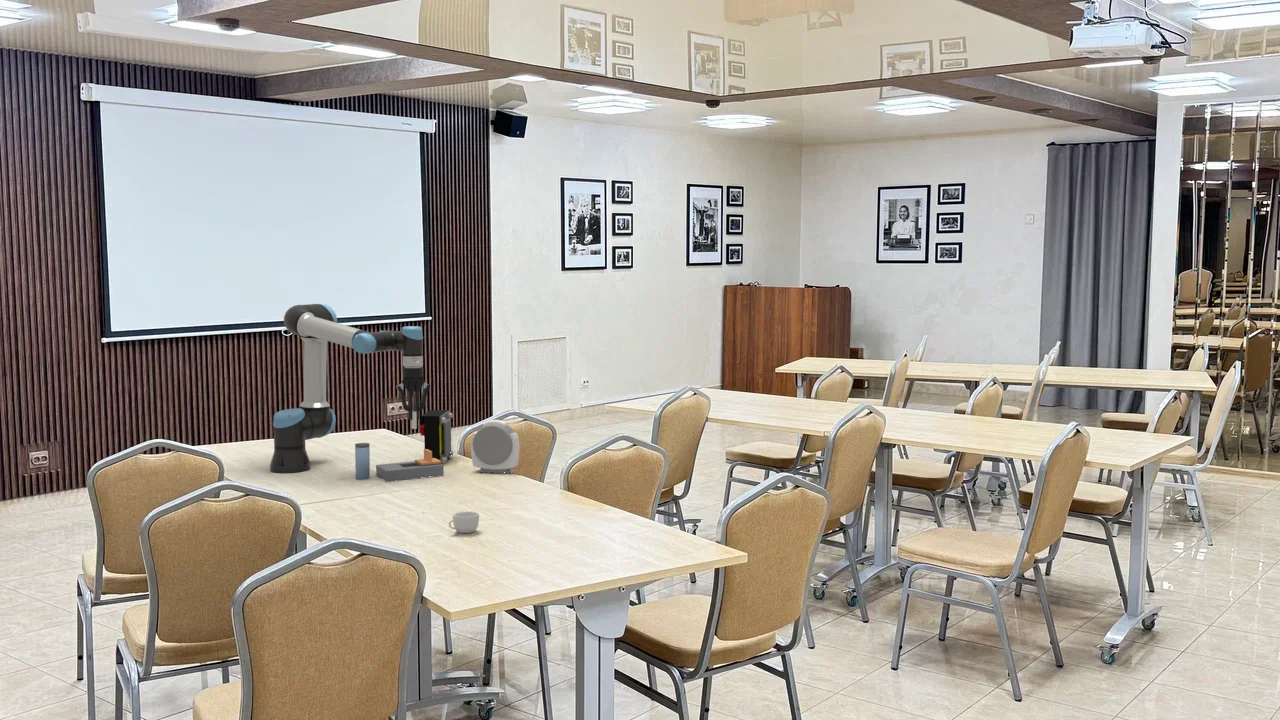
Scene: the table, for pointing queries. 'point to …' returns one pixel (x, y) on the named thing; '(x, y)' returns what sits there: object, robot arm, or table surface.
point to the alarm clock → (495, 447)
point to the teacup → (465, 521)
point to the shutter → (428, 459)
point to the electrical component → (437, 433)
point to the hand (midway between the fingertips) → (413, 428)
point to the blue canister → (362, 460)
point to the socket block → (407, 470)
